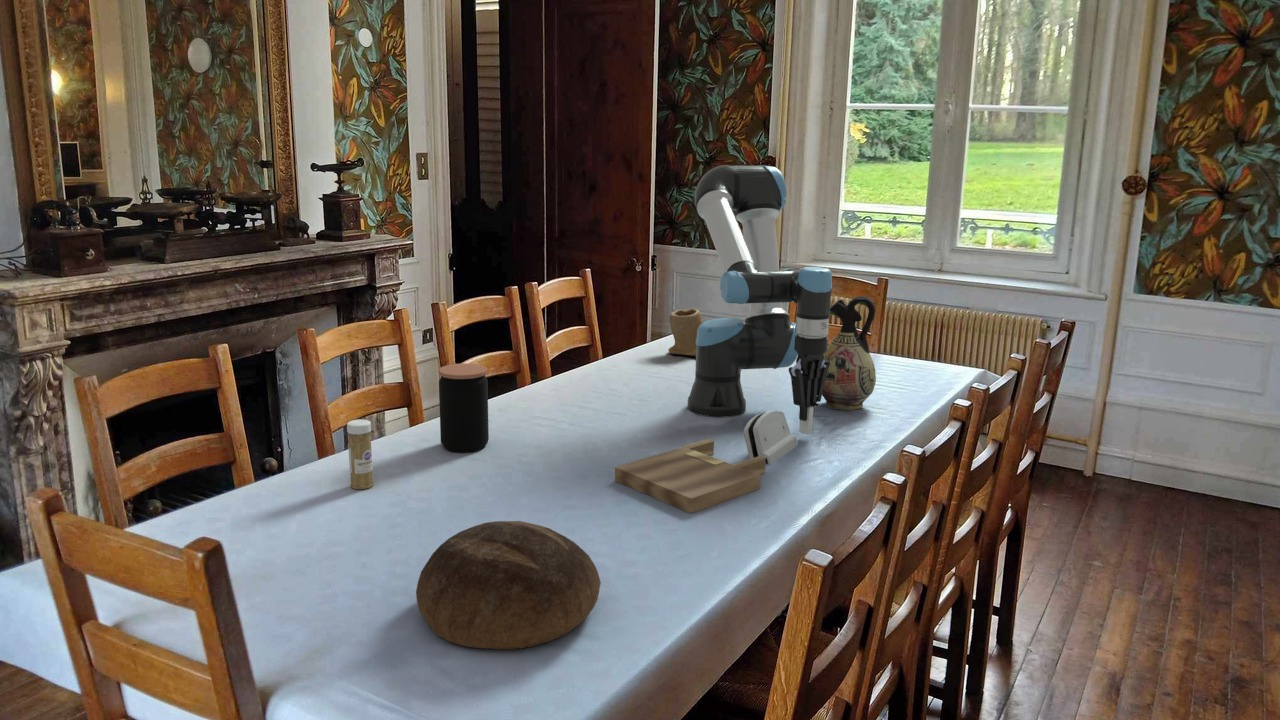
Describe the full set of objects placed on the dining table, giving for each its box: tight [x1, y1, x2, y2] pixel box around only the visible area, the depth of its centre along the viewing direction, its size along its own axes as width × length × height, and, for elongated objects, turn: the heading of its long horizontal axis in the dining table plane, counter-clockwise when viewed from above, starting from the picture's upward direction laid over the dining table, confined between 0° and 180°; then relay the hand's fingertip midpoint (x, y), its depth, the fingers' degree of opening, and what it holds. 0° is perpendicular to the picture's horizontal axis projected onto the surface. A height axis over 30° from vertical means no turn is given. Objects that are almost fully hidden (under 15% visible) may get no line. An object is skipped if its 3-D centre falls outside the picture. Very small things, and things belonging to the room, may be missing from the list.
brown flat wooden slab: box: [614, 438, 767, 514], centre depth 198 cm, size 22×28×3 cm
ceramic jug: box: [822, 296, 877, 411], centre depth 249 cm, size 17×15×30 cm
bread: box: [415, 520, 602, 650], centre depth 142 cm, size 26×27×13 cm
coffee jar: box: [438, 363, 490, 454], centre depth 214 cm, size 11×11×18 cm
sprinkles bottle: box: [346, 419, 375, 490], centre depth 189 cm, size 5×5×13 cm
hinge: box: [743, 410, 799, 465], centre depth 216 cm, size 17×5×10 cm, turn 149°
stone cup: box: [668, 308, 703, 357], centre depth 303 cm, size 15×12×15 cm
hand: (805, 432), depth 225 cm, fingers closed
